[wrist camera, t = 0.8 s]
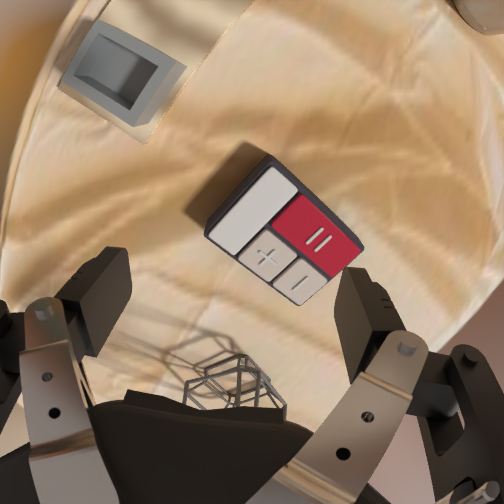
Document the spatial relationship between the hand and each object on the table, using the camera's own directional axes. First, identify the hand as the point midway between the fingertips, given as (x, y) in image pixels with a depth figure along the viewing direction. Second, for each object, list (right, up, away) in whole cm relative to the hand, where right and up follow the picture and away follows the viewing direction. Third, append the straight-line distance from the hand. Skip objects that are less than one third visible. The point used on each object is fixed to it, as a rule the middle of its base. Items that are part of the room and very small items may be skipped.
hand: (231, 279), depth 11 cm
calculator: (+5, +4, +26) cm, 27 cm away
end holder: (-12, +20, +17) cm, 29 cm away
